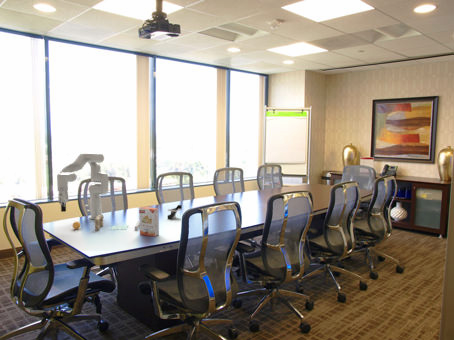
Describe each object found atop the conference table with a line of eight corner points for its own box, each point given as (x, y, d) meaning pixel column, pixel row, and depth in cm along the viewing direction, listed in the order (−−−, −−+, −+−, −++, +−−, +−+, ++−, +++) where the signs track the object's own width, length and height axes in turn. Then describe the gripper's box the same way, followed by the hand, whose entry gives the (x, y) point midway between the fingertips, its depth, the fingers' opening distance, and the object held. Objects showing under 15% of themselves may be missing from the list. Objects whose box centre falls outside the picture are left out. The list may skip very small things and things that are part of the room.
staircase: (167, 219, 334) (167, 206, 333) (174, 217, 343) (173, 204, 342) (175, 220, 330) (175, 207, 329) (181, 218, 339) (181, 205, 338)
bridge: (95, 230, 293) (94, 218, 292) (99, 226, 308) (99, 214, 307) (99, 230, 293) (98, 218, 292) (103, 226, 308) (103, 214, 307)
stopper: (138, 224, 313) (138, 220, 313) (140, 224, 314) (140, 220, 313) (134, 230, 294) (134, 226, 293) (137, 230, 294) (137, 226, 293)
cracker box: (139, 234, 280) (138, 207, 278) (144, 232, 286) (143, 206, 284) (154, 236, 274) (154, 209, 272) (159, 234, 280) (158, 207, 278)
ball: (73, 228, 301) (73, 220, 301) (81, 227, 302) (81, 220, 301) (71, 229, 295) (71, 222, 295) (79, 229, 296) (79, 222, 295)
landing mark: (112, 226, 308) (112, 225, 308) (128, 225, 309) (128, 225, 309) (109, 229, 295) (109, 229, 295) (126, 229, 296) (126, 229, 296)
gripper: (64, 190, 287) (65, 213, 289) (70, 187, 302) (71, 209, 304) (54, 190, 287) (55, 213, 288) (61, 187, 301) (61, 209, 303)
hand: (63, 211), depth 296 cm, fingers closed
